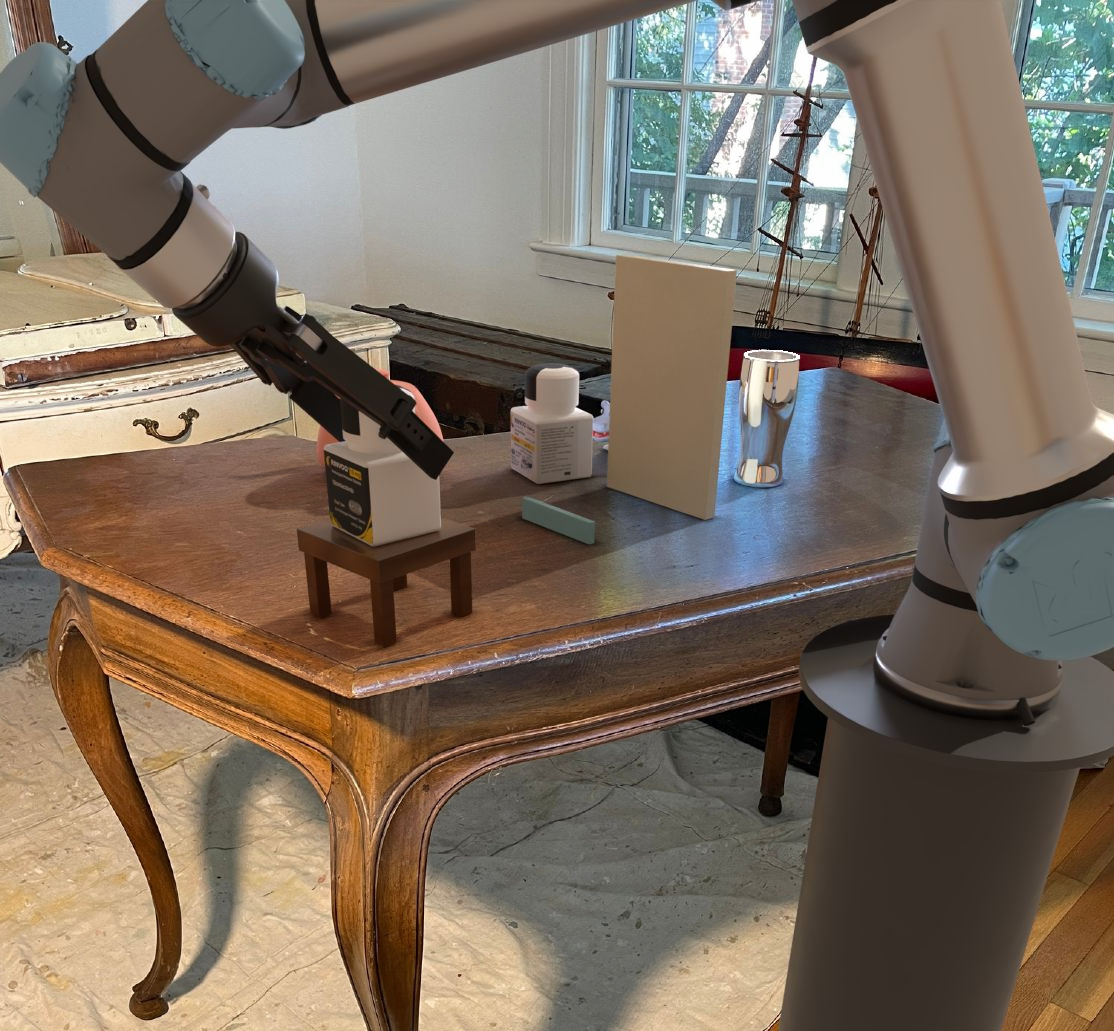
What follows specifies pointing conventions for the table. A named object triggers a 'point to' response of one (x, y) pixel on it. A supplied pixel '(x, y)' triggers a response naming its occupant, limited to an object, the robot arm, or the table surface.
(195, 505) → the table surface
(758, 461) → the beer glass
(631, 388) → the beige and grey slabs
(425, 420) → the teapot
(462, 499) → the table surface
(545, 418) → the container
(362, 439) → the medicine bottle
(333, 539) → the stool
